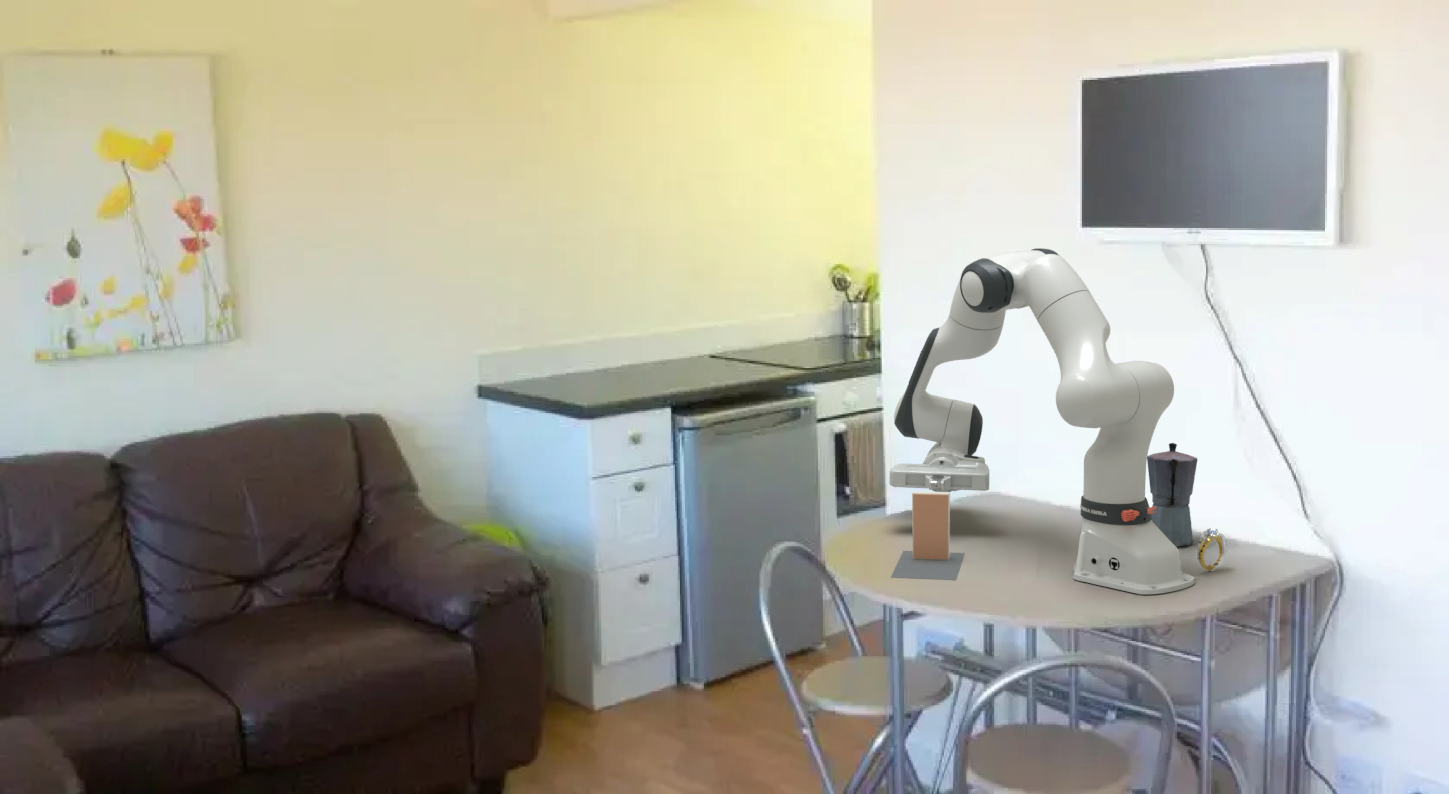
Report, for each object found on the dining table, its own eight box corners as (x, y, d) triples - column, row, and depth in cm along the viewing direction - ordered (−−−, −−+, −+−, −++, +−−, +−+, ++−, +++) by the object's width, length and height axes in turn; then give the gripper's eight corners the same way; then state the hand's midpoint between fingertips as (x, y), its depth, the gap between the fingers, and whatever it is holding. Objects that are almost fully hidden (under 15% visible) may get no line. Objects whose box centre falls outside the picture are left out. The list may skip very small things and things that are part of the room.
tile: (913, 556, 297) (913, 491, 295) (949, 558, 296) (949, 492, 293) (912, 559, 296) (912, 493, 293) (949, 560, 294) (948, 494, 292)
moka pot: (1191, 534, 311) (1193, 437, 307) (1201, 554, 296) (1203, 452, 292) (1142, 533, 312) (1144, 436, 309) (1149, 553, 297) (1151, 452, 294)
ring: (1204, 576, 281) (1205, 533, 280) (1191, 572, 284) (1192, 530, 282) (1231, 570, 284) (1232, 528, 283) (1218, 566, 287) (1219, 524, 286)
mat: (903, 553, 302) (903, 550, 302) (964, 555, 299) (964, 553, 299) (890, 580, 284) (890, 577, 284) (955, 582, 281) (955, 580, 281)
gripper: (893, 454, 321) (884, 468, 307) (992, 457, 316) (987, 472, 303) (893, 483, 322) (884, 499, 309) (991, 487, 317) (987, 503, 304)
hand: (936, 486), depth 306 cm, fingers closed
